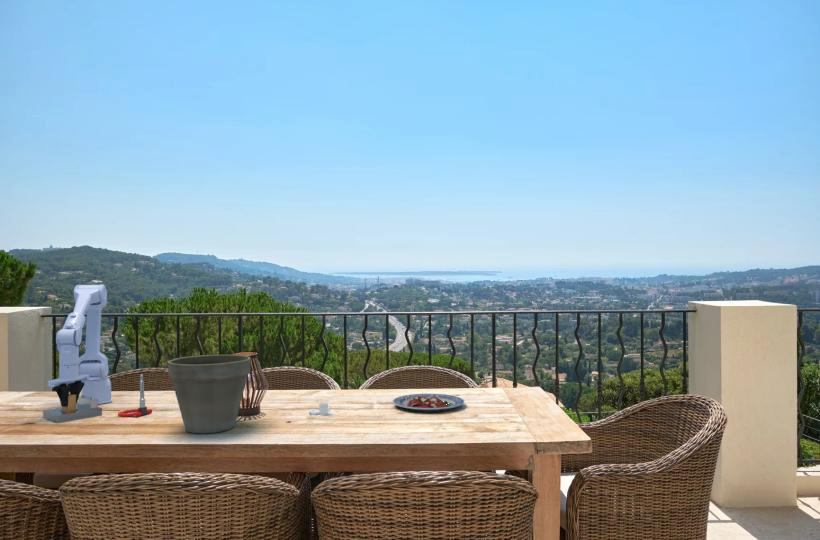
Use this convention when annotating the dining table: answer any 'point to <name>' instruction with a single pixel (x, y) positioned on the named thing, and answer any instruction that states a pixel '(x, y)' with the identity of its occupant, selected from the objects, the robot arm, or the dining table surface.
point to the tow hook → (143, 409)
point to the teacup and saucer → (321, 410)
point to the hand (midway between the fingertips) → (69, 405)
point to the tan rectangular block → (70, 404)
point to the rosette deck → (83, 410)
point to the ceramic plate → (428, 402)
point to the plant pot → (209, 390)
